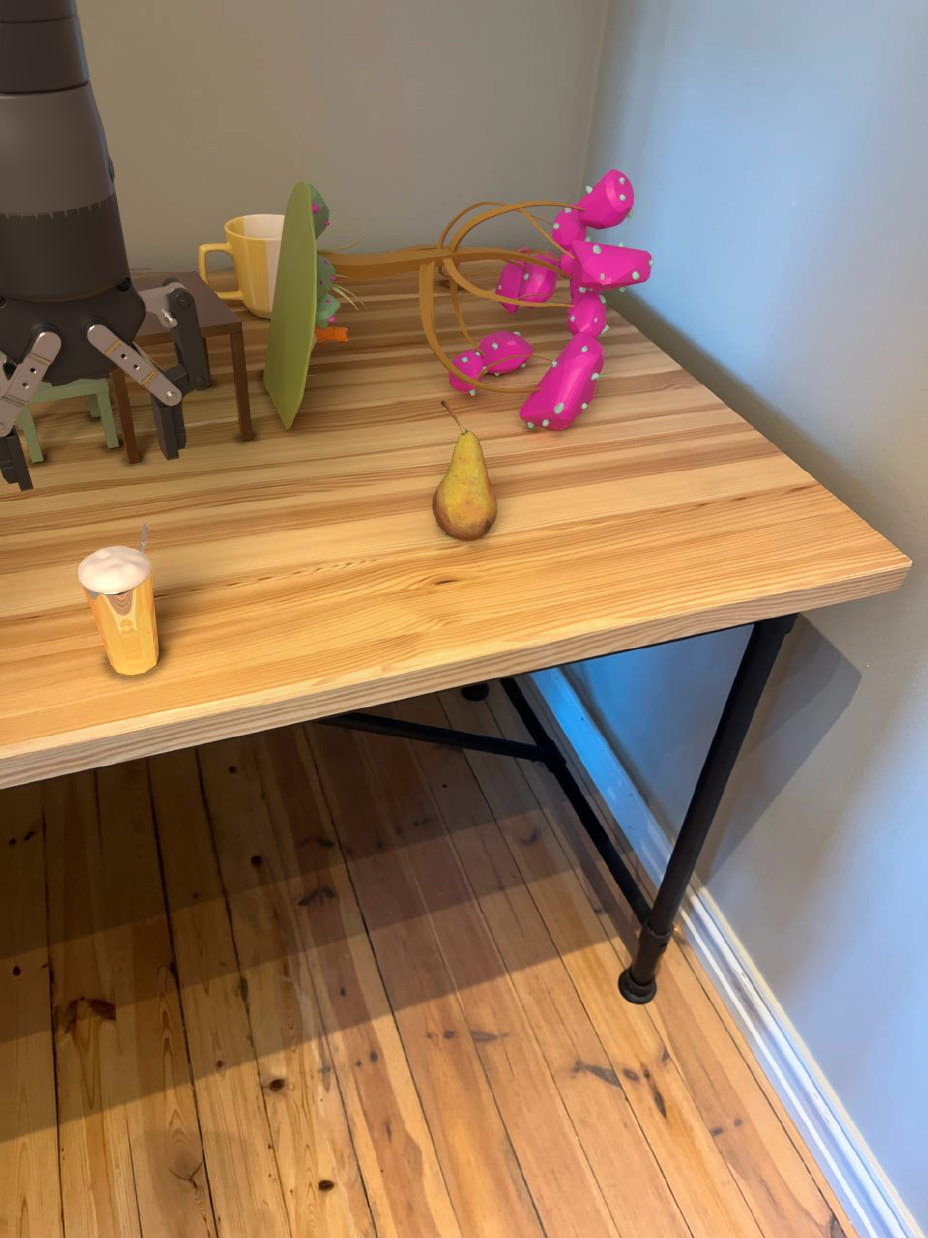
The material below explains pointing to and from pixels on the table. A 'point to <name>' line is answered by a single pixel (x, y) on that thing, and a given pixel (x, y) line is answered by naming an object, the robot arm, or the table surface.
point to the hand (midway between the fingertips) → (99, 468)
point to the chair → (45, 392)
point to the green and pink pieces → (522, 282)
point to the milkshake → (123, 605)
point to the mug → (250, 259)
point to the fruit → (465, 491)
